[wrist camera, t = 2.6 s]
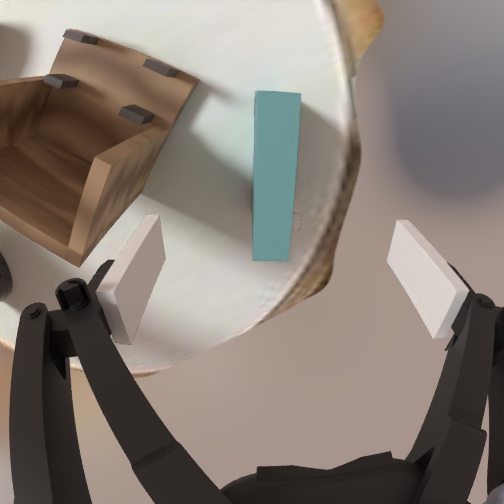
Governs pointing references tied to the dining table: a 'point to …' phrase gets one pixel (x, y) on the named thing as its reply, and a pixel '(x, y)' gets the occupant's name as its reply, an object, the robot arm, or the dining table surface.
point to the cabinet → (83, 141)
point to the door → (274, 173)
